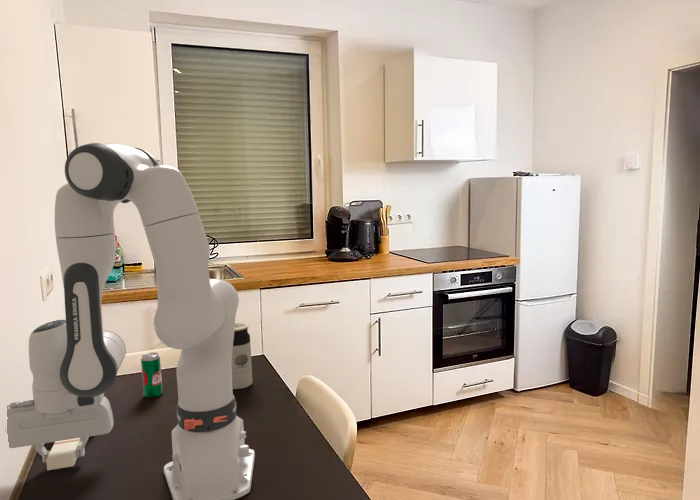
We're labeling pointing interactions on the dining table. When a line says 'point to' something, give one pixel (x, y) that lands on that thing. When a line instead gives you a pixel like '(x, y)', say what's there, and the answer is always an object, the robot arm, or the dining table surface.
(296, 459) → the dining table surface
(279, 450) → the dining table surface
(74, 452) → the ticket
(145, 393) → the soda can
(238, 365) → the white bottle
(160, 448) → the dining table surface
